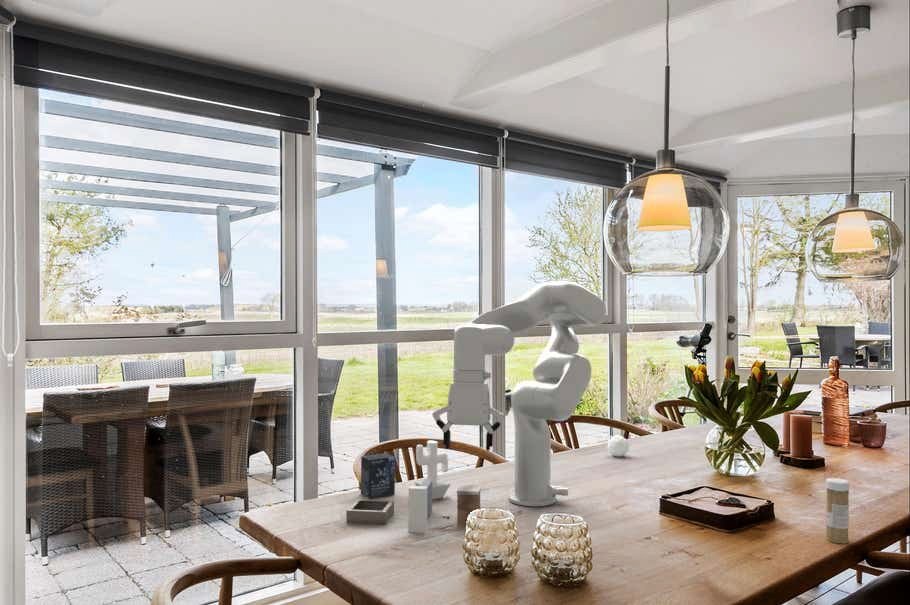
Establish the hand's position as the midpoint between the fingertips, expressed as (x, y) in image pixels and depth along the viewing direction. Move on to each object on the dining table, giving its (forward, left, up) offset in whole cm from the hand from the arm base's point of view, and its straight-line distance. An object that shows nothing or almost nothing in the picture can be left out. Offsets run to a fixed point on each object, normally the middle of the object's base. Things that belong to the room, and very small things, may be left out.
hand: (467, 448), depth 162 cm
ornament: (-44, -77, -18) cm, 91 cm away
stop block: (0, 0, -18) cm, 18 cm away
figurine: (+12, -20, -18) cm, 29 cm away
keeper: (+24, 0, -18) cm, 30 cm away
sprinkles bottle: (-83, +2, -18) cm, 84 cm away
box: (+27, -20, -18) cm, 38 cm away
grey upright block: (+11, 0, -18) cm, 21 cm away
